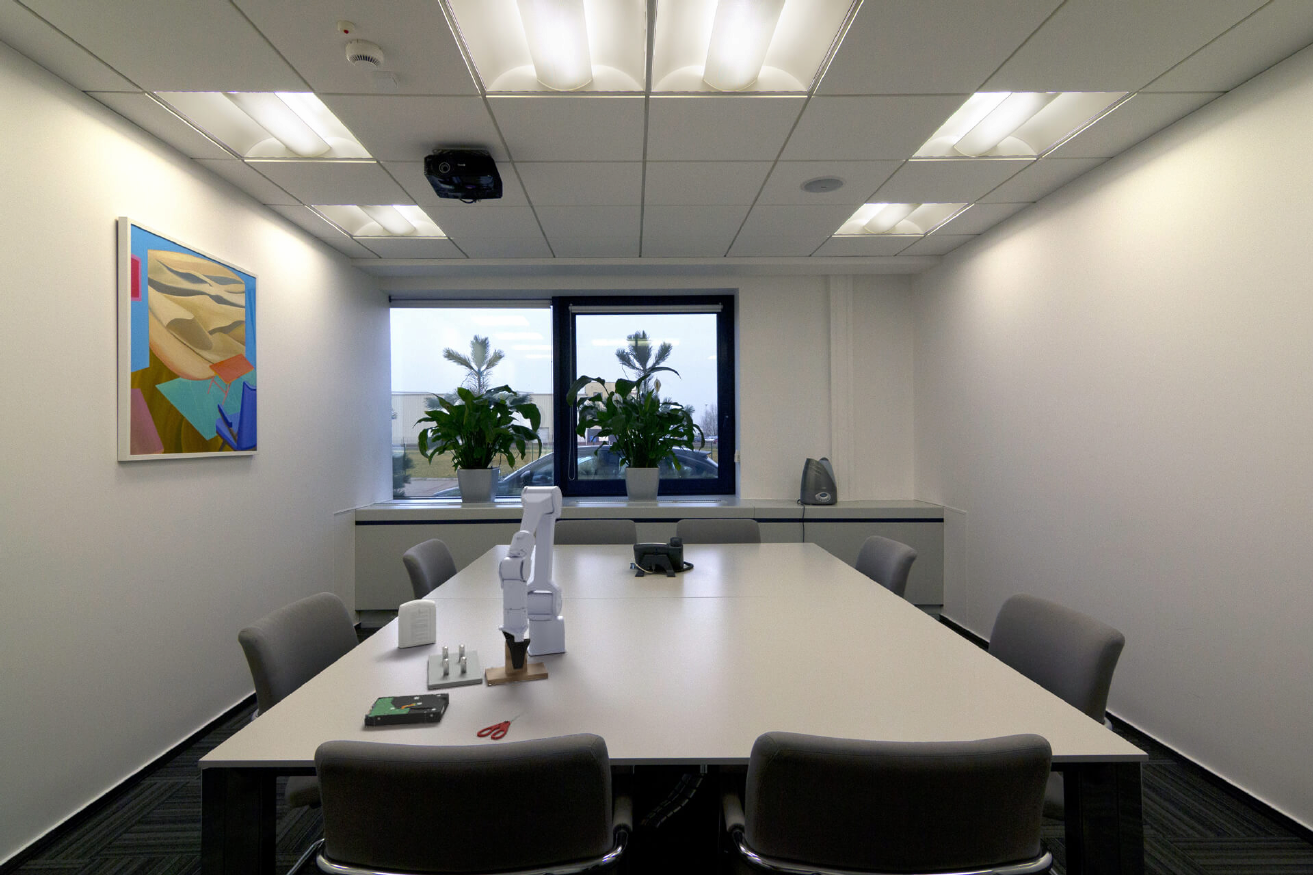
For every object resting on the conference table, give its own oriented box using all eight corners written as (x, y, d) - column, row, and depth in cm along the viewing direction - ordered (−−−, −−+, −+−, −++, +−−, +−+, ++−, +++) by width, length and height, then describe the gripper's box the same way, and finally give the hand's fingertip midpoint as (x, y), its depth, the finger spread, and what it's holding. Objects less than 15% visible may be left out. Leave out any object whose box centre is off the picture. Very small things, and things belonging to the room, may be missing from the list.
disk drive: (449, 705, 146) (377, 709, 144) (449, 692, 146) (377, 696, 144) (440, 725, 136) (363, 729, 134) (440, 711, 136) (363, 715, 134)
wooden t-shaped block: (542, 668, 168) (542, 634, 168) (548, 678, 160) (547, 643, 160) (485, 675, 163) (484, 640, 163) (487, 686, 156) (487, 649, 156)
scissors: (474, 738, 129) (474, 732, 129) (515, 710, 142) (515, 706, 142) (498, 742, 127) (498, 737, 127) (537, 714, 140) (537, 709, 140)
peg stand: (476, 654, 178) (476, 637, 178) (482, 682, 157) (482, 663, 157) (428, 659, 174) (428, 642, 174) (428, 689, 154) (428, 669, 154)
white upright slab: (434, 639, 192) (433, 596, 192) (438, 643, 189) (437, 599, 189) (396, 645, 187) (396, 601, 187) (400, 649, 183) (399, 604, 183)
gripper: (495, 601, 167) (496, 656, 167) (501, 615, 154) (502, 675, 154) (524, 599, 170) (524, 652, 170) (532, 613, 156) (533, 671, 156)
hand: (516, 663), depth 162 cm, fingers open, 7 cm apart
